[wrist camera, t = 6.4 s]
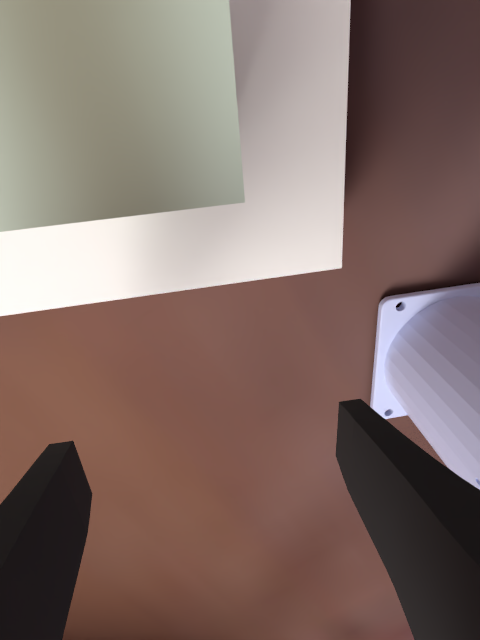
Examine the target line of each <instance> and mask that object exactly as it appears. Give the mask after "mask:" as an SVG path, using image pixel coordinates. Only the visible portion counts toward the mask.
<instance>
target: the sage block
mask: <svg viewBox="0 0 480 640" xmlns="http://www.w3.org/2000/svg"><path fill="white" fill-rule="evenodd" d="M244 202H245V196H244V183H243V171H242V158H241V145H240V133H239V120H238V108H237V95H236V82H235V70H234V57H233V45H232V32H231V19H230V7H229V0H0V232H4V231H12V230H21V229H29V228H37V227H46V226H54V225H62V224H70V223H79V222H87V221H95V220H104V219H112V218H120V217H128V216H137V215H145V214H153V213H162V212H170V211H178V210H186V209H195V208H203V207H211V206H219V205H228V204H236V203H244Z"/></svg>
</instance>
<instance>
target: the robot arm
mask: <svg viewBox="0 0 480 640" xmlns="http://www.w3.org/2000/svg"><path fill="white" fill-rule="evenodd" d="M399 302H402V304H401V305H400V306H399V307H397V308H396V305H397V304H398V303H399ZM388 409H389V410H388ZM386 410H388V411H386ZM385 411H386V412H385ZM405 415H408V416H409V417H410V418H411V420H412V421H413V422H414V423H415V425H416V426H417V427H418V429H419V430H420V431H421V433H422V434H423V435H424V437H425V438H426V439H427V441H428V442H429V443H430V445H431V446H432V447H433V449H434V450H435V451H436V453H437V454H438V455H439V456H440V458H441V459H442V460H443V462H444V463H445V464H446V466H447V467H448V468H449V469H448V468H447V467H446V466H444V465H443V464H441V463H440V462H438V461H437V460H436V459H434V458H433V457H432V456H430V455H429V454H428V453H426V452H425V451H424V450H423V449H421V448H420V447H419V446H417V445H416V444H415V443H414V442H412V441H411V440H410V439H408V438H407V437H406V436H405V435H403V434H402V433H401V432H400V431H399V430H397V429H396V428H395V427H394V426H393V425H391V424H390V423H389V422H388V421H386V420H385V419H388V418H394V417H399V416H405ZM336 457H337V460H338V463H339V466H340V469H341V472H342V475H343V478H344V481H345V483H346V486H347V489H348V491H349V493H350V495H351V498H352V500H353V502H354V504H355V506H356V508H357V510H358V512H359V514H360V516H361V518H362V520H363V522H364V524H365V527H366V529H367V531H368V533H369V535H370V537H371V539H372V541H373V543H374V545H375V547H376V549H377V551H378V553H379V555H380V557H381V559H382V561H383V563H384V565H385V567H386V569H387V572H388V574H389V576H390V578H391V581H392V583H393V585H394V587H395V590H396V592H397V595H398V598H399V600H400V603H401V605H402V608H403V610H404V613H405V616H406V618H407V621H408V623H409V626H410V629H411V631H412V634H413V637H414V639H415V640H480V283H474V284H467V285H461V286H454V287H447V288H440V289H434V290H427V291H420V292H413V293H407V294H400V295H393V296H388V297H385V298H384V299H382V300H381V302H380V304H379V309H378V321H377V333H376V344H375V356H374V368H373V379H372V391H371V403H370V406H368V405H367V404H366V403H365V402H364V401H362V400H361V399H356V400H349V401H342V402H339V413H338V429H337V444H336ZM91 500H92V492H91V489H90V486H89V484H88V481H87V478H86V475H85V473H84V470H83V467H82V464H81V461H80V459H79V456H78V453H77V450H76V448H75V445H74V442H73V441H69V442H62V443H55V444H49V445H48V446H47V448H46V449H45V450H44V451H43V453H42V454H41V455H40V456H39V457H38V459H37V460H36V461H35V462H34V464H33V465H32V466H31V467H30V469H29V470H28V471H27V472H26V474H25V475H24V476H23V477H22V479H21V480H20V481H19V482H18V484H17V485H16V486H15V487H14V489H13V490H12V491H11V492H10V494H9V495H8V496H7V497H6V498H5V500H4V501H3V502H2V503H1V504H0V640H62V638H63V633H64V629H65V625H66V621H67V616H68V612H69V608H70V604H71V600H72V596H73V592H74V588H75V584H76V580H77V575H78V571H79V567H80V563H81V559H82V555H83V550H84V546H85V542H86V537H87V533H88V525H89V518H90V509H91Z"/></svg>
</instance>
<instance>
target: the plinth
mask: <svg viewBox="0 0 480 640" xmlns="http://www.w3.org/2000/svg"><path fill="white" fill-rule="evenodd" d="M350 6H351V0H229V7H230V19H231V32H232V45H233V57H234V70H235V82H236V95H237V108H238V120H239V133H240V145H241V158H242V171H243V183H244V196H245V202H244V203H236V204H228V205H219V206H211V207H203V208H195V209H186V210H178V211H170V212H162V213H153V214H145V215H137V216H128V217H120V218H112V219H104V220H95V221H87V222H79V223H70V224H62V225H54V226H46V227H37V228H29V229H21V230H12V231H4V232H0V316H4V315H11V314H18V313H25V312H33V311H40V310H47V309H54V308H61V307H68V306H75V305H82V304H89V303H97V302H104V301H111V300H118V299H125V298H132V297H139V296H146V295H153V294H161V293H168V292H175V291H182V290H189V289H196V288H203V287H210V286H217V285H225V284H232V283H239V282H246V281H253V280H260V279H267V278H274V277H281V276H289V275H296V274H303V273H310V272H317V271H324V270H331V269H338V268H342V243H343V213H344V184H345V154H346V125H347V95H348V65H349V36H350Z"/></svg>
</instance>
